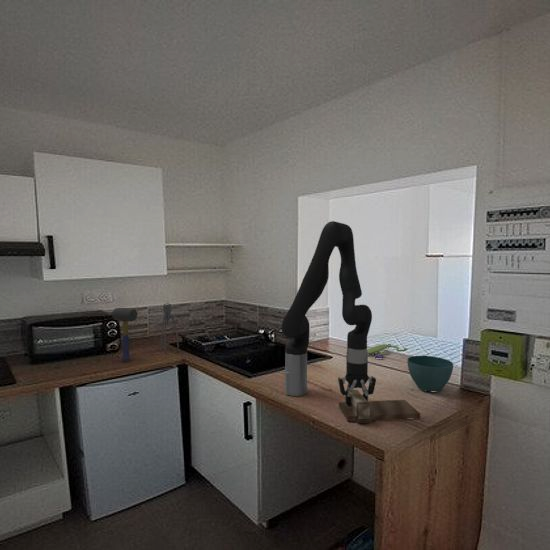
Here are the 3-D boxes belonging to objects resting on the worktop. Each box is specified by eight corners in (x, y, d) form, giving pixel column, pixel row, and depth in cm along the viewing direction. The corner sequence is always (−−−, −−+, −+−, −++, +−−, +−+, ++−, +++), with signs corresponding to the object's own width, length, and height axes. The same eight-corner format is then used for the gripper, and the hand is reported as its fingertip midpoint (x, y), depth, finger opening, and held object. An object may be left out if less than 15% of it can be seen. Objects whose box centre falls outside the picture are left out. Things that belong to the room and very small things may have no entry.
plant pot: (415, 378, 167) (416, 353, 167) (457, 388, 155) (458, 360, 155) (400, 389, 154) (400, 361, 153) (445, 400, 142) (446, 370, 141)
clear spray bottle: (161, 349, 223) (160, 302, 221) (178, 350, 222) (178, 302, 221) (155, 354, 213) (154, 304, 211) (173, 354, 212) (172, 304, 211)
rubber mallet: (139, 360, 200) (138, 307, 199) (130, 364, 193) (128, 309, 192) (122, 358, 205) (120, 306, 203) (112, 361, 198) (110, 308, 196)
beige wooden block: (358, 423, 122) (358, 404, 122) (346, 406, 136) (346, 389, 136) (369, 422, 122) (369, 404, 122) (356, 405, 136) (356, 389, 136)
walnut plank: (348, 422, 124) (348, 416, 124) (339, 407, 136) (339, 402, 136) (419, 418, 126) (419, 413, 126) (404, 404, 138) (404, 399, 138)
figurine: (411, 357, 205) (412, 347, 204) (372, 361, 196) (372, 351, 196) (391, 349, 222) (391, 340, 222) (354, 353, 213) (354, 344, 213)
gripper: (340, 363, 125) (340, 410, 126) (380, 362, 126) (379, 409, 127) (334, 357, 132) (334, 402, 133) (372, 356, 134) (372, 400, 134)
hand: (356, 405), depth 130 cm, fingers open, 5 cm apart
